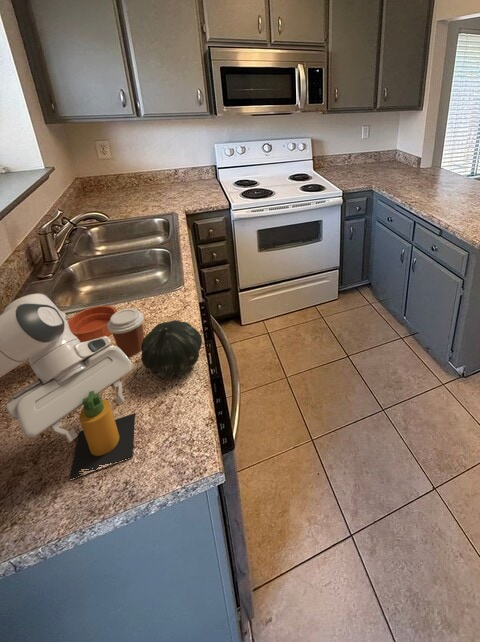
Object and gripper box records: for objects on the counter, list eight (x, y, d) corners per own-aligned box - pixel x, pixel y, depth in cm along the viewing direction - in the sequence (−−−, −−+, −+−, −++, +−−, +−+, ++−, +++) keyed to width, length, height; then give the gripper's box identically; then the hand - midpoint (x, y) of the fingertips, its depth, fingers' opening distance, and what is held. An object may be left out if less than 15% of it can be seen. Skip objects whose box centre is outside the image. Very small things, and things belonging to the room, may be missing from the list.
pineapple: (88, 460, 73) (71, 412, 68) (92, 437, 77) (76, 390, 72) (118, 449, 75) (104, 402, 70) (120, 427, 79) (107, 381, 74)
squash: (177, 319, 106) (145, 307, 94) (219, 333, 101) (191, 323, 89) (154, 369, 101) (116, 364, 88) (197, 386, 96) (163, 383, 83)
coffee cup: (118, 343, 105) (109, 309, 101) (151, 336, 108) (144, 302, 103) (111, 365, 97) (102, 329, 93) (148, 357, 100) (140, 322, 95)
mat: (69, 481, 69) (69, 479, 69) (79, 432, 79) (79, 431, 78) (132, 457, 73) (132, 456, 73) (135, 414, 83) (134, 413, 83)
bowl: (64, 351, 102) (60, 339, 100) (73, 323, 113) (70, 312, 112) (118, 338, 107) (114, 326, 105) (121, 312, 118) (118, 301, 117)
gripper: (2, 397, 64) (41, 463, 63) (114, 332, 81) (148, 383, 79) (0, 404, 68) (37, 466, 67) (108, 340, 84) (140, 390, 83)
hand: (98, 421), depth 73 cm, fingers open, 8 cm apart
